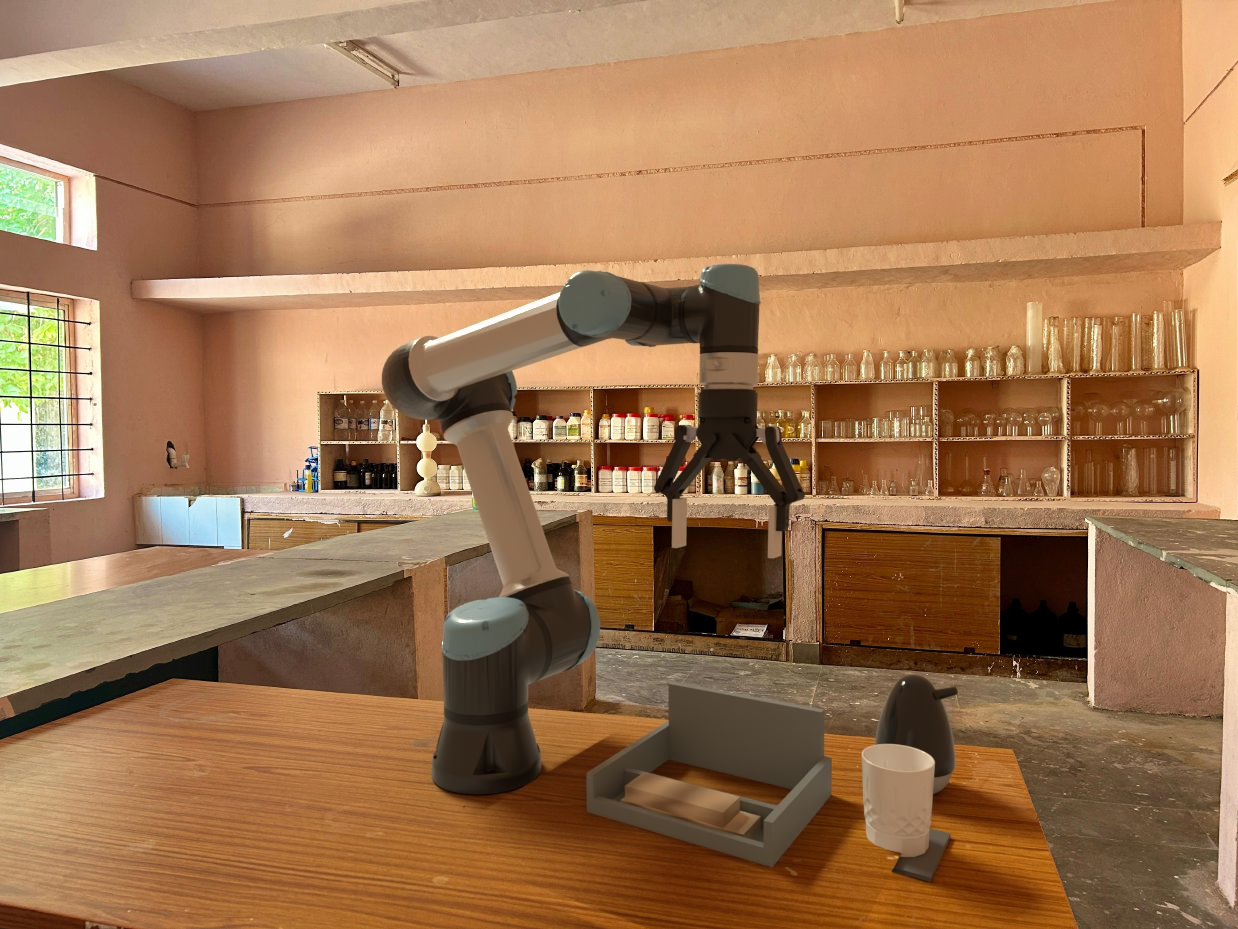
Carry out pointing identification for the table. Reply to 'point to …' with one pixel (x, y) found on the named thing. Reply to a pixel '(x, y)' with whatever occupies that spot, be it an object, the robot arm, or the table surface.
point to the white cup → (898, 797)
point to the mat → (924, 858)
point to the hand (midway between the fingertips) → (725, 551)
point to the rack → (726, 767)
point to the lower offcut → (739, 825)
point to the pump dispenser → (920, 723)
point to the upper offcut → (683, 799)
